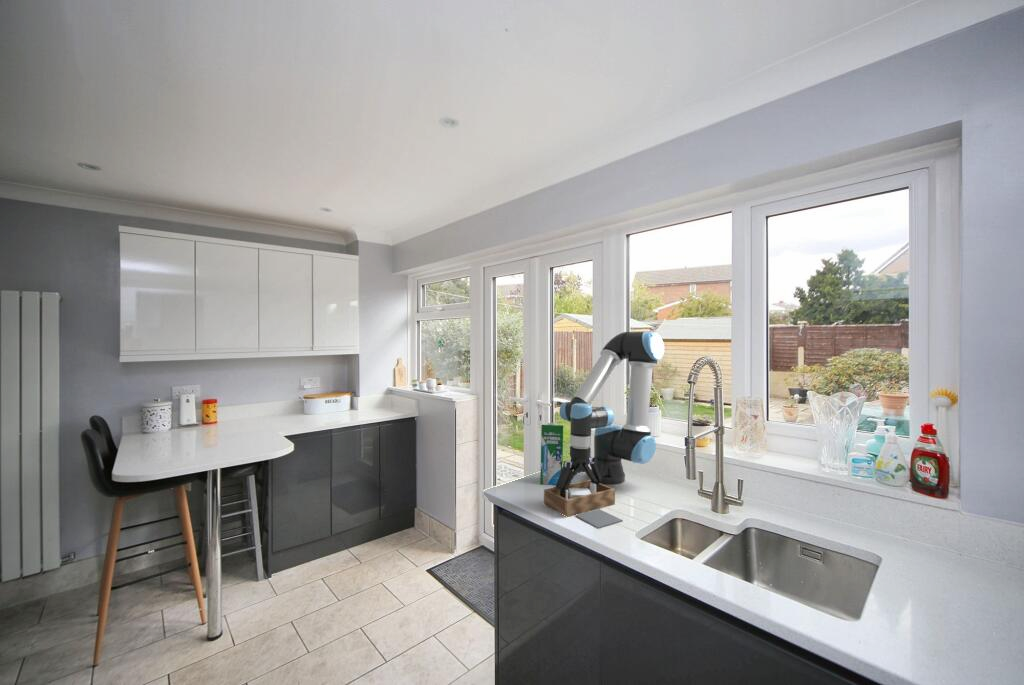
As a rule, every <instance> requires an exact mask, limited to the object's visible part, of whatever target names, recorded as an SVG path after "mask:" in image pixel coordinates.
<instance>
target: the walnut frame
mask: <svg viewBox="0 0 1024 685" xmlns="http://www.w3.org/2000/svg"><path fill="white" fill-rule="evenodd" d="M590 482H592V481H591V480H590V479H587V480H581V481H577V482H573V483H572V482H571V483H570V484H569V486H568V488H588V489H589V490H590ZM568 488H567V489H566V490H568ZM545 505H546V506H545ZM614 505H616V489H615V488H613V487H610V486H608V485H605V484H604V483H600V484H597V492H596V493H593V494H588V495H584V496H580V497H576V498H572V499H568V500H567V499H565V498H563V497H561V496H560V489H558V488H556V486H555V487H554V486H553V487H550V488H545V489H543V506H545V507H547V506H548V507H547V508H549V509H550V510H553V511H554V510H555V512H556V511H557V513H558V512H559V513H558V514H560V513H561V514H560V515H562V514H563V515H562V516H564V515H565V516H567V517H566V518H568V516H570V517H572V515H573V516H576V514H577V515H578V514H582V513H586V512H590V511H593V510H597V509H603V508H606V507H610V506H614ZM565 516H564V517H565Z"/></svg>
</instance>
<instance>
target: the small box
mask: <svg viewBox="0 0 1024 685" xmlns="http://www.w3.org/2000/svg"><path fill="white" fill-rule="evenodd" d="M588 494H591V492H590V490H589V489H588V488H568V499H572V498H576V497H580V496H584V495H588Z"/></svg>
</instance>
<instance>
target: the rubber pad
mask: <svg viewBox="0 0 1024 685" xmlns="http://www.w3.org/2000/svg"><path fill="white" fill-rule="evenodd" d="M575 517H576V518H578V519H579V518H580V520H581V519H582V521H584V522H585V521H586V522H585V523H587V524H589V525H591V526H593V527H594V528H596V527H597V528H596V529H598V528H599V529H602V528H605V527H608V526H612V525H615V524H618V523H622V522H623V519H621V518H619V517H617V516H615V515H613V514H610V513H608V512H606V511H604V510H602V509H601V508H599V509H596V510H592V511H588V512H584V513H581V514H577V515H575Z"/></svg>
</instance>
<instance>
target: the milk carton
mask: <svg viewBox="0 0 1024 685" xmlns="http://www.w3.org/2000/svg"><path fill="white" fill-rule="evenodd" d="M540 432H541V433H540V434H541V435H540V439H541V440H540V444H541V445H540V482H539V484H540V485H546V486H556V484H557V481H558V479H559V476H560V473H561V471H562V468H563V463H564V461H563V460H564V459H563V458H564V457H563V456H564V425H559V424H558V423H557V422H547V424H541V430H540Z"/></svg>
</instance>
